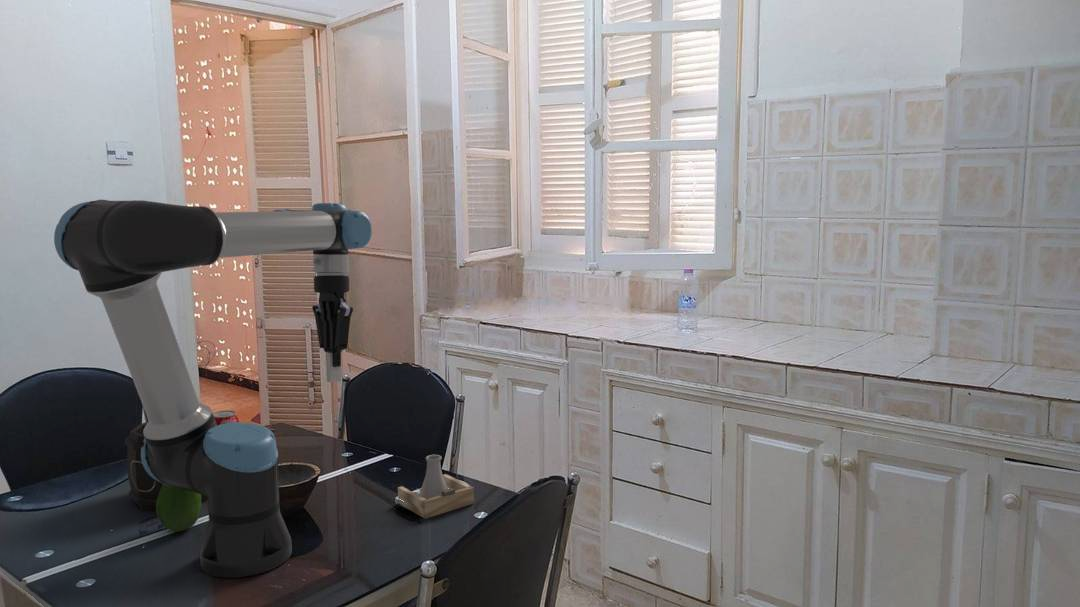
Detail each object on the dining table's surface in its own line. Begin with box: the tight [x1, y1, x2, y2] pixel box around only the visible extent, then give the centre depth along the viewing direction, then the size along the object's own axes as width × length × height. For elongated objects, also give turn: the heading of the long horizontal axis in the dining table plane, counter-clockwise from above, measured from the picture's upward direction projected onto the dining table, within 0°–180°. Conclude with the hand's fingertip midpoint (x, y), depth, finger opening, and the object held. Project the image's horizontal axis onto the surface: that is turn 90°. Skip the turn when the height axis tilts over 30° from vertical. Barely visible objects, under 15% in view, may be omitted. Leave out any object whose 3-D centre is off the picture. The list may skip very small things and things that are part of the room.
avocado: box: [155, 484, 202, 533], centre depth 145 cm, size 8×8×12 cm
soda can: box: [212, 410, 240, 426], centre depth 184 cm, size 7×7×12 cm
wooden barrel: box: [124, 421, 208, 512], centre depth 162 cm, size 18×18×16 cm
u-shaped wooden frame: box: [397, 473, 475, 520], centre depth 158 cm, size 11×12×4 cm
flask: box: [418, 454, 448, 499], centre depth 158 cm, size 7×7×10 cm
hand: (333, 381), depth 167 cm, fingers closed
